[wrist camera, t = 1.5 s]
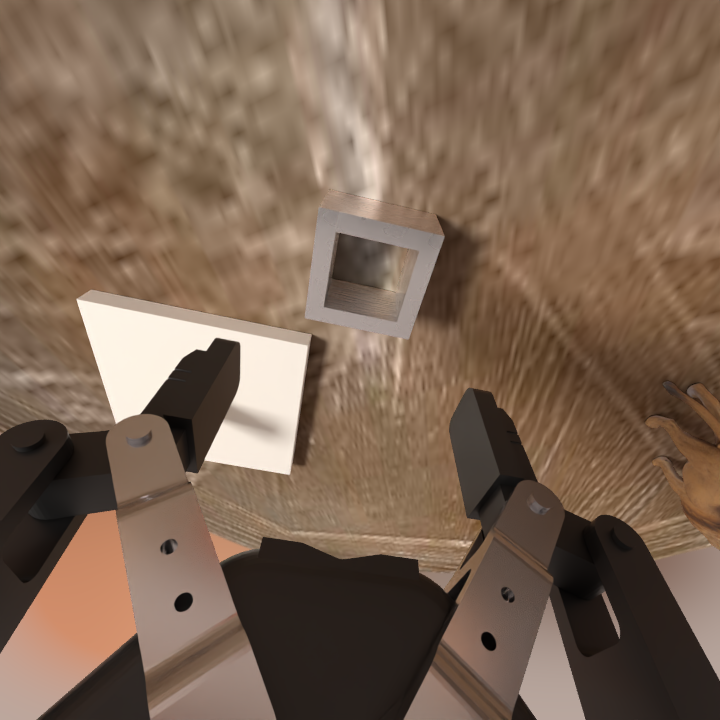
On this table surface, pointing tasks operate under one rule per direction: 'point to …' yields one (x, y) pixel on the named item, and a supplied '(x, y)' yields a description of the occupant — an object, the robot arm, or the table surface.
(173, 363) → the post board
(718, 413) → the lion figurine
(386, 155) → the table surface
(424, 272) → the steel collar
